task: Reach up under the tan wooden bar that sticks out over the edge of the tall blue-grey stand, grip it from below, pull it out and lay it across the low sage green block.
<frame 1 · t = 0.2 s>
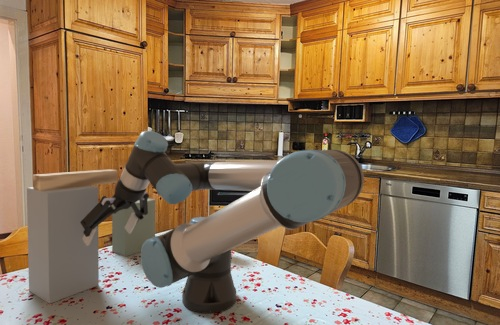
hand: (107, 236, 98), 15 cm above the table, tool tilted 35°, fingers open, 13 cm apart
sage green block: (134, 249, 131), on the table
stand: (64, 287, 97), on the table
tan wooden bar: (78, 185, 99), point 30 cm above the table, touching stand
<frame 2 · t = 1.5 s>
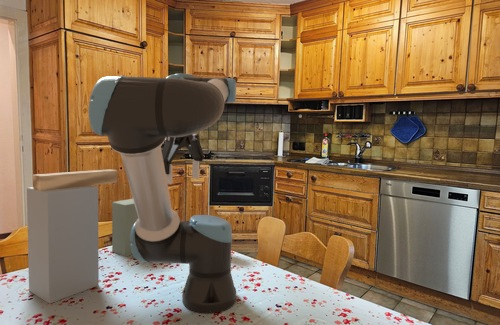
hand: (182, 181, 116), 30 cm above the table, tool pointing down, fingers open, 13 cm apart
nothing on the table moved.
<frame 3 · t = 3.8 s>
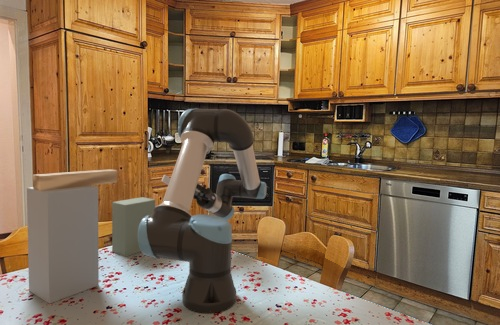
hand: (175, 179, 120), 30 cm above the table, tool pointing upward, fingers open, 13 cm apart
nothing on the table moved.
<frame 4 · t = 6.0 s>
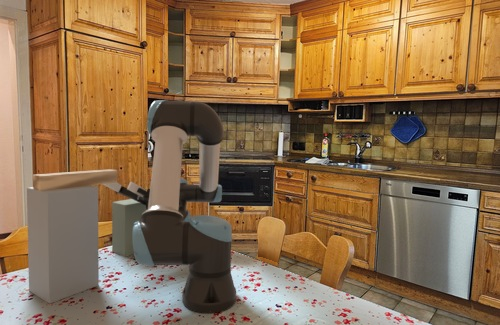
hand: (116, 183, 110), 29 cm above the table, tool pointing upward, fingers open, 13 cm apart
nothing on the table moved.
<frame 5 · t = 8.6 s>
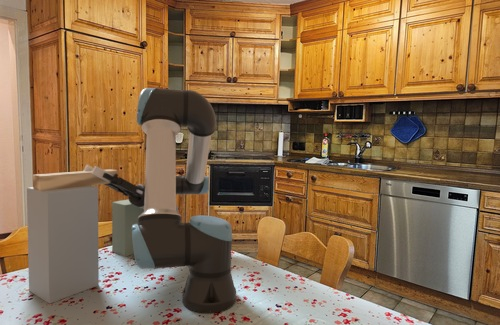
hand: (89, 169, 101), 35 cm above the table, tool pointing upward, fingers closed on tan wooden bar, 4 cm apart
tan wooden bar: (78, 185, 99), point 30 cm above the table, touching gripper, stand
everything else where it was.
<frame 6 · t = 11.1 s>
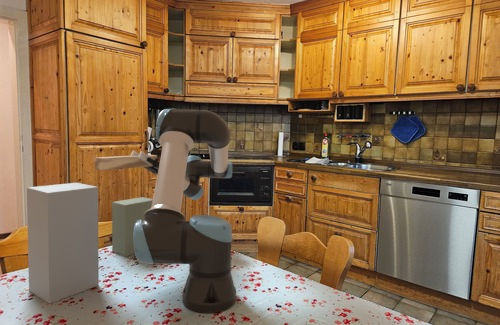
hand: (135, 154, 121), 38 cm above the table, tool pointing upward, fingers closed on tan wooden bar, 4 cm apart
tan wooden bar: (128, 167, 119), point 34 cm above the table, touching gripper
everything else where it was.
when the fingers open (26 cm above the table, at t = 13.7 s): tan wooden bar drops 2 cm, resting on sage green block.
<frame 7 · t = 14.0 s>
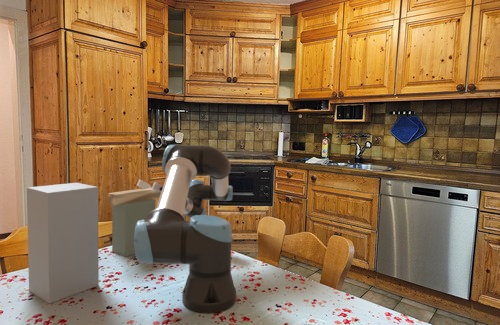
hand: (146, 183, 134), 26 cm above the table, tool pointing upward, fingers open, 9 cm apart
tan wooden bar: (137, 200, 131), point 19 cm above the table, touching sage green block
everything else where it was.
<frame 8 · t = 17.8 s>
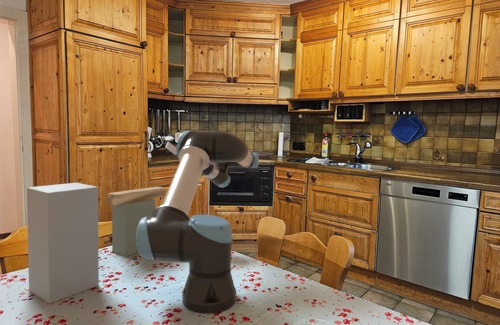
hand: (178, 145, 136), 42 cm above the table, tool pointing upward, fingers open, 13 cm apart
nothing on the table moved.
at the end: tan wooden bar inside the target area (1.1 cm from its centre), point 19.5 cm above the table; tan wooden bar touching sage green block; the gripper is holding nothing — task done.
